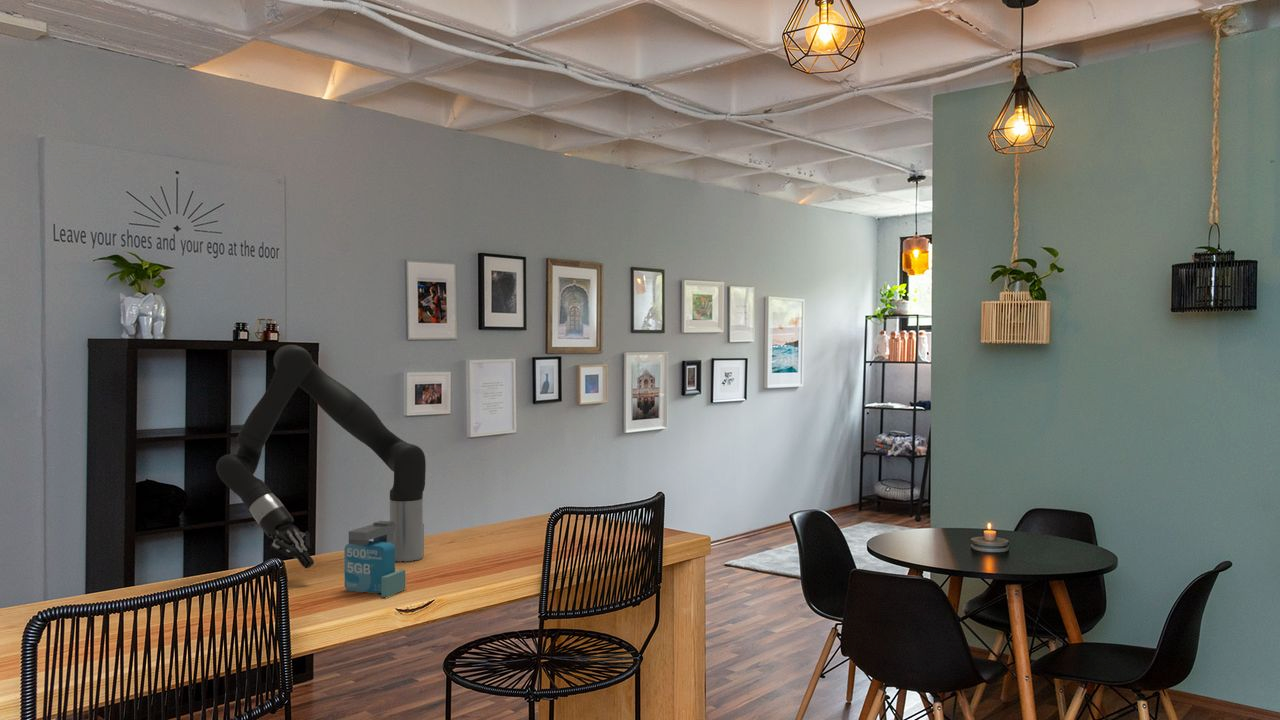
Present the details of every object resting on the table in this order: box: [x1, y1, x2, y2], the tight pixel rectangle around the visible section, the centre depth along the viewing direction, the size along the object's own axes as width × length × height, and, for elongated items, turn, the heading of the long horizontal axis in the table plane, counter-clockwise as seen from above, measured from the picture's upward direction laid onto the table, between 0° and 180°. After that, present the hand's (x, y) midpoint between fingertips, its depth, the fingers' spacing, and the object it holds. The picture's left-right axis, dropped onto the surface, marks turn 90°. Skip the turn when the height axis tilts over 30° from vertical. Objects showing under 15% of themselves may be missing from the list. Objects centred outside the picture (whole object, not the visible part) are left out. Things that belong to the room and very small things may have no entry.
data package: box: [343, 540, 396, 594], centre depth 235 cm, size 12×4×12 cm, turn 71°
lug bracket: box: [348, 520, 395, 545], centre depth 237 cm, size 14×7×16 cm, turn 161°
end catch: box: [380, 569, 406, 598], centre depth 232 cm, size 8×2×5 cm, turn 161°
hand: (310, 565), depth 240 cm, fingers closed
